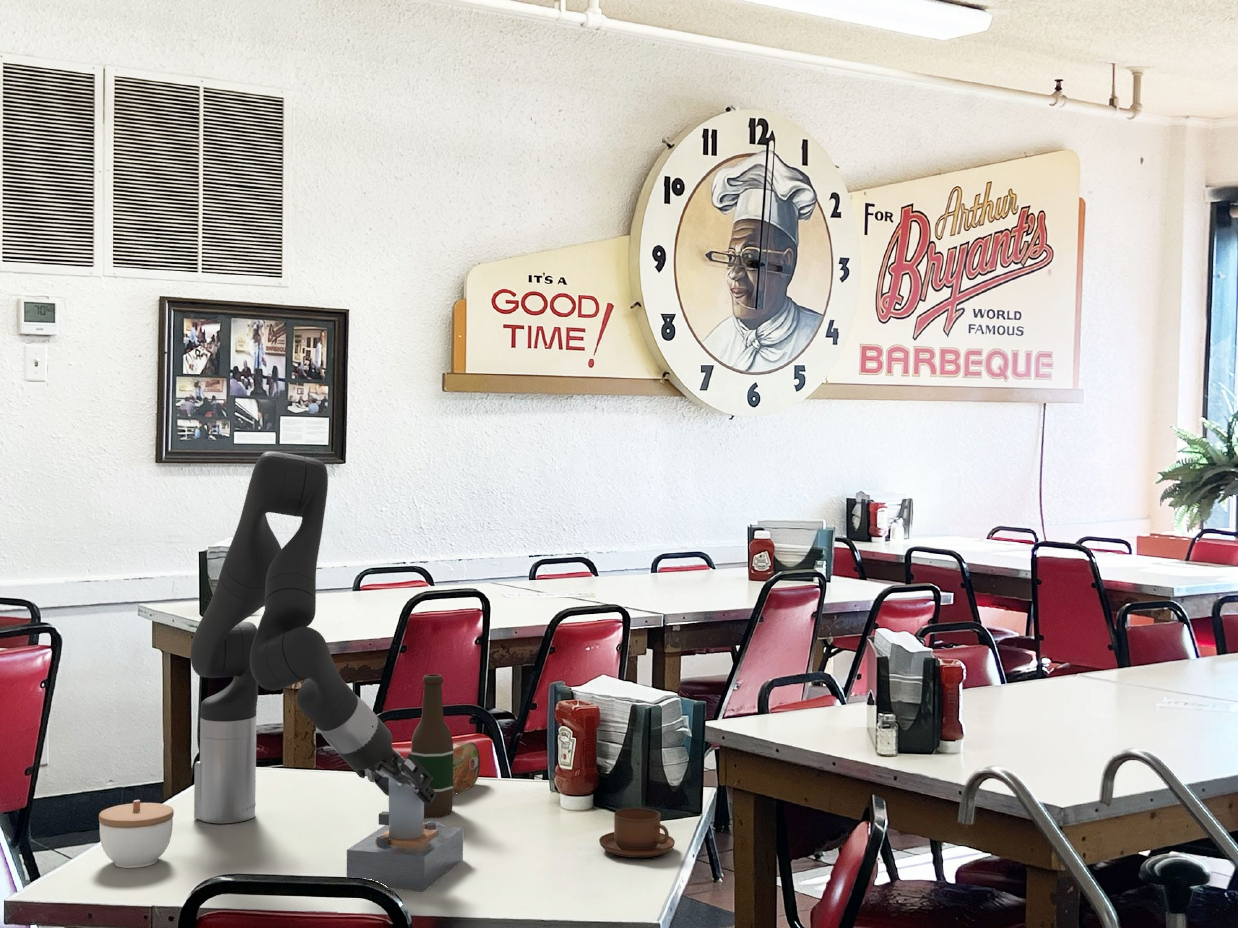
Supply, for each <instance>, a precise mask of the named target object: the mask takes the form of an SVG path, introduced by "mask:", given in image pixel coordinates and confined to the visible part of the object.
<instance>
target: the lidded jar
mask: <svg viewBox="0 0 1238 928" xmlns="http://www.w3.org/2000/svg"><path fill="white" fill-rule="evenodd" d="M174 810H175V809H174V808H173V806H170V805H168V804H164V803H159V802H158V803H157V802H141V800H140V799H135V800H133V801H132V803H125V804H118V805H114V806H111V807H108V808H105V809H103V810H101V811H100V812H99V814H98V821H99V838H100V843H101V846H102V847H101V848H102V849H103V851H104V853H105V855H106V857H108V858H109V859H110V860H111V861H112V862H113V863H114V866H116V867H118V868H121V869H122V868H123V869H137V868H138V869H139V868H145V867H150V866H152V865H154V864H156V863H157V862H158V859H159V858H160V857H161V856H162V855H163V854H164V853H165V851H166V850H167V849H168V847H169V844H170V841H171V838H172V833H173V826H174V822H173V821H174V819H173V817H174V815H175V814H174V813H175V812H174Z"/></svg>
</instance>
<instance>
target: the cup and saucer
mask: <svg viewBox="0 0 1238 928" xmlns="http://www.w3.org/2000/svg"><path fill="white" fill-rule="evenodd" d="M613 815H614V817H613V818H614V819H613V822H614V823H613V825H614V828H613V829H614V830H613V831H612V832H609V833H605V834H603V835H601V836H600V838H599V839H598V842H599V845H600V846H601V847H602V849H604V850H605V851H606V852H607V853H610V854H613V855H615V856H620V857H625V858H638V859H639V858H640V859H643V858H650V857H651V858H653V857H656V856H657V857H658V856H662V855H664V854H666V853H668V852H669V851H670V850H671V849H673V848H674V846H675V844H676V841H675V839H674V837H672V836H671V835H670V834H669V833H670V832H669V831H668V828H667V827H666V826H665V825H663V824H661V813H660V812H659V811H657V810H656V809H651V808H644V807H627V808H622V809H618V810H616V811H615V812H614V814H613ZM661 830H662V831H663V832H664V833H661Z"/></svg>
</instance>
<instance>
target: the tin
mask: <svg viewBox="0 0 1238 928" xmlns="http://www.w3.org/2000/svg"><path fill="white" fill-rule="evenodd" d="M480 756H481V755H480V751H479V748H478V746H477V745H476V743H475V742H472V741H469V742H458V743H455V744H453V795H454V796H456V795H457V794H456V793H458V794H460V793H462V792H464V791H466V790H468V789H470V788H472V787H474V786H475V784H476V783H477V781H478V779H479V775H480V771H481V770H480V769H481V757H480ZM469 787H470V788H469ZM467 788H468V789H467ZM465 789H466V790H465ZM463 790H464V791H463ZM459 792H460V793H459ZM455 794H456V795H455Z"/></svg>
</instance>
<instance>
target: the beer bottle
mask: <svg viewBox="0 0 1238 928" xmlns="http://www.w3.org/2000/svg"><path fill="white" fill-rule="evenodd" d="M422 682H423V684H424V685H423V699H422V708H421V709H422V710H421V716H420V721H419V723H418V724H417V726H416V727H415V728H414V731H413V734H412V737H411V742H410V743H411V744H410V745H411V746H410V754H411V755H413V756H414V757H415V758H416V760H417V761H418V762H419V763H420V764H421V765H422V766H423V767H424V768H425V769H426V770H427V771H428V772H429V774H430V775H431V776H432V777H433V779H432V780H431V782H430V784H429V785H430V786H431V788H432V789H433V790H434V791H435V792H436V798H435V799H434V801H433V802H432V804H431V805H430V806H429V805H425V804H424V819H429V818H442V817H446V816H448V815H451V814H452V813H453V804H454V800H453V799H454V798H453V797H454V796H453V745H454V740H453V737H452V733H451V731H450V728H449V726H448V725H447V723H446V721H445V717H444V708H443V704H444V703H443V686H442V684H443V683H444V679H443V675H442V674H440V673H439V674H438V673H428V674H425V675H423V678H422Z"/></svg>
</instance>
